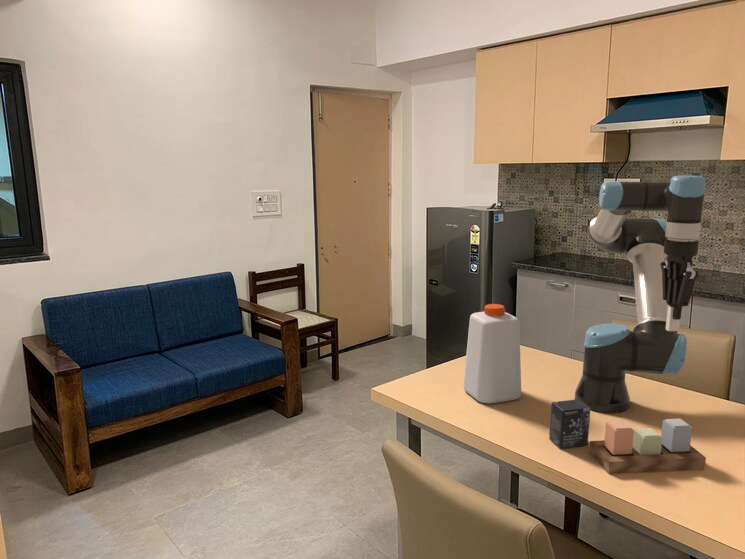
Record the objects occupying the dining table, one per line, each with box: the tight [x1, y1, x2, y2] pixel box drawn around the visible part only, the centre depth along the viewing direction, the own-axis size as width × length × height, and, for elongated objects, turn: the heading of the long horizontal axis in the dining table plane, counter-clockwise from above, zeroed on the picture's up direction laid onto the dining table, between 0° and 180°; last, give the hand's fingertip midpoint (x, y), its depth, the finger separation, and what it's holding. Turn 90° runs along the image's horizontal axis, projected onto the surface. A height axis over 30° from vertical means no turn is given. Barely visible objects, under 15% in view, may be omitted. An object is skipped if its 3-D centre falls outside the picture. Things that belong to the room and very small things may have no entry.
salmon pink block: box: [604, 420, 634, 455], centre depth 136 cm, size 4×4×6 cm
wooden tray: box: [589, 439, 707, 475], centre depth 137 cm, size 23×10×3 cm, turn 94°
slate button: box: [660, 418, 693, 452], centre depth 137 cm, size 4×4×6 cm
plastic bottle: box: [462, 303, 522, 405], centre depth 175 cm, size 15×15×28 cm
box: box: [548, 398, 591, 450], centre depth 145 cm, size 8×6×11 cm
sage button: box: [632, 427, 662, 455], centre depth 137 cm, size 4×4×6 cm
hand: (672, 330), depth 147 cm, fingers closed
